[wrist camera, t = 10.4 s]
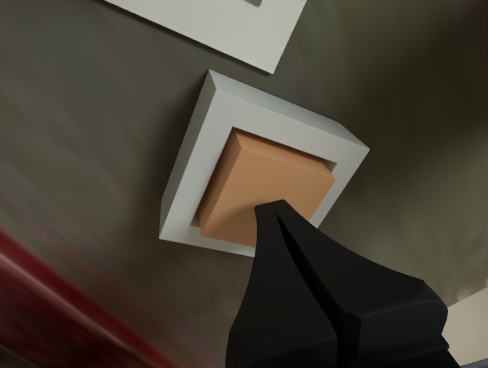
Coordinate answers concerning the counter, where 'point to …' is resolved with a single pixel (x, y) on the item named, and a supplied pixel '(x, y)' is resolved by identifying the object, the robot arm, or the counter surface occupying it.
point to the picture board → (227, 24)
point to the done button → (258, 185)
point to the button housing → (257, 122)
